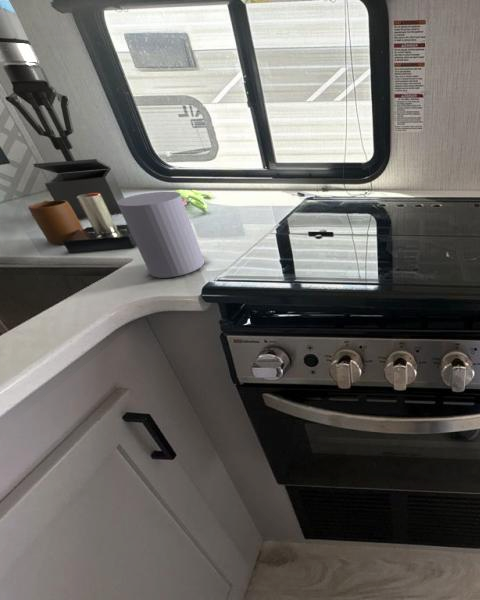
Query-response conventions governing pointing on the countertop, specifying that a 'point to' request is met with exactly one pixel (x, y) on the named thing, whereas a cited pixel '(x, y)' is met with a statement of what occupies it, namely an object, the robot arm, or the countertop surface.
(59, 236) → the mug
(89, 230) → the panel
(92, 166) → the lid
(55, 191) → the dark grey box
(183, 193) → the figurine
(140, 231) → the container
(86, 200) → the cream silver cylinder
